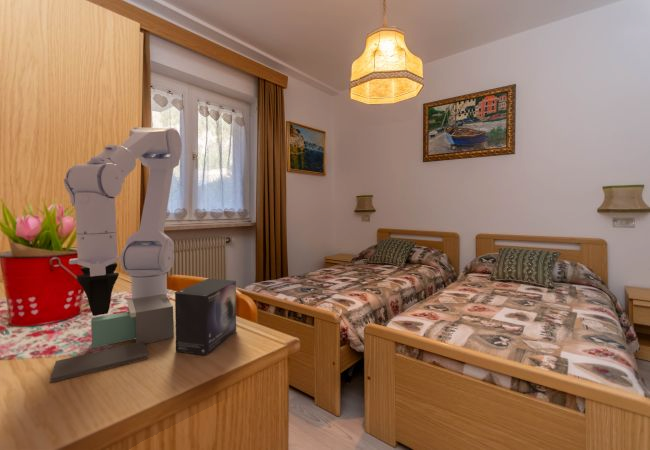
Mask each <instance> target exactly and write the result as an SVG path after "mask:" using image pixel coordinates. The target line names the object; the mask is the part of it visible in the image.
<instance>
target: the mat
mask: <svg viewBox="0 0 650 450" xmlns="http://www.w3.org/2000/svg"><path fill="white" fill-rule="evenodd" d="M146 359H148V353H147V349H146V344H144V341H143V342H139V343H137V342H135V343H130V344H125V345H120V346H117V347H112V348H109V349H108V348H107V349H103V350H99V351H94V352H90V353H86V354H85V353H84V354H80V355H76V356H72V357H68V358H62V359H58V360H55V362H54V365H53V369H52V372H51V376H50V379H49V380H50V382H49V383H55V382H56V383H57V382H58V381H59V382H60V381H62V380H67V379H71V378H74V377H79V376H84V375H88V374H90V373H94V372H99V371H103V370H107V369H112V368H116V367H118V366H122V365H127V364H130V363H134V362H138V361H143V360H146Z"/></svg>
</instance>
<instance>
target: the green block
mask: <svg viewBox="0 0 650 450" xmlns="http://www.w3.org/2000/svg"><path fill="white" fill-rule="evenodd" d="M90 324H91V325H90V326H91V343H92V348H93V349H94V348H98V347H102V346H108V345H113V344H116V343H121V342H126V341H129V340H136V330H135V317H130V312H129V311H125V312H117V313H111V314H104V315H98V316H93V317H91V320H90Z"/></svg>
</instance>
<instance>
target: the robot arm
mask: <svg viewBox="0 0 650 450" xmlns="http://www.w3.org/2000/svg"><path fill="white" fill-rule="evenodd" d="M128 134H129V135H128V136H129V137H127V139H126V140H125V141H124V142H123V143H122V144H121V145H118V144H107V145H105V146H104V150H102V151H101V152H100V153H98V154H97V155H93V156H92V157H91V158H90V160H89V161H87V162H86V163H76V164H74V165H73V166H72V167H70V168H69V169H68V170H67V172H66V174H65V178H63V184H64V187H65V189H66V191H67V193H68V194H69V197H70V203H71V205H72V207H75V208H74V211H75V212H74V213H75V231H76V248H77V257H76V258H70V259H69V260H68V264H69V265H76V264H77V265H79V266H81V267H80V270H81V272H82V273H83V274H77V276H76V281H77V283H79V285H80V286H81V287H82V289H83V291H84V293H85V295H86V299H87V303H88V305H89V309H90V313H91V315H92V316H93V317H98V316H104V315H109V311H110V305H111V300H112V293H113V289H114V286H115V285H116V282H117V280H118V277H119V274H120V273H119V272H115V271H116V269H117V267H118V263H117V262H119V263H120V265H121V268H122V269H123V270H124V272H127V273H126V274H127V276H130V283H131V284H130V285H131V286H130V287H131V298H132V299H134V298H141V297H148V296H154V295H161V294H166V296H167V297H168V284H167V282H168V281H167V273H168V272H169V271H170V270H171V269H172V267H173V266H174V263H175V242H174V241H173V239H172V238H171V237H170V236H168V235H167V234H166V233H165V231H164V230H165V225H166V219H167V213H168V206H169V199H170V193H171V187H172V180H173V175H174V169H175V168H177V166H179V165H180V160H181V155H182V148H183V145H182V140H181V136H180V133H179V131H178V130H177V129H176V128H175V127H173V126H172V127H170V126H169V127H139V126H134V127H133V128H131V129H130V130H129V133H128ZM137 159H139V161H140V163H141V164H142V166H144V167H146V168H148V169H149V176H148V181H147V186H146V193H145V197H144V203H143V207H142V212H141V218H140V225H139V230H137V231H136V232H134V233H133V234H131V235H129V236H128V237H127V238H126V243H125V245H124V247H123V249H122V250H121V253H120V255H119V254H118V253H119V252H118V236H117V235H118V234H117V216H116V215H117V214H116V197H117V196H118V195H119V196H120V194H121V192H122V190H123V184H124V182H125V180H126V177H128V176H129V174H131V173H132V172H133V171H134V170H135V168H136V166H137Z"/></svg>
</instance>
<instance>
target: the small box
mask: <svg viewBox="0 0 650 450" xmlns="http://www.w3.org/2000/svg"><path fill="white" fill-rule="evenodd" d="M236 291H237V280H230V279H220V278H210V277H209V278H206V279H204V280H201V281H199V282H197V283H195V284H192V285H190V286H187V287H184V288H183V289H180V290H177V291H175V292H174V302H175V303H174V307H175V308H174V312H175V314H174V315H175V316H174V317H175V352H177V353H178V352H179V353H185V354H187V353H188V354H192V355H193V354H195V355H203V356H207V355H209V354H210V353H211V352H212V351H214V350H215V349H216V348H217V347H219V346H220V345H221V344H222V343H223V342H225V341H226V340H227V339H229V338H230V335H231V336H232V335H233V334H234V333H236V332H237V296H236V295H237V292H236Z"/></svg>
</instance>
